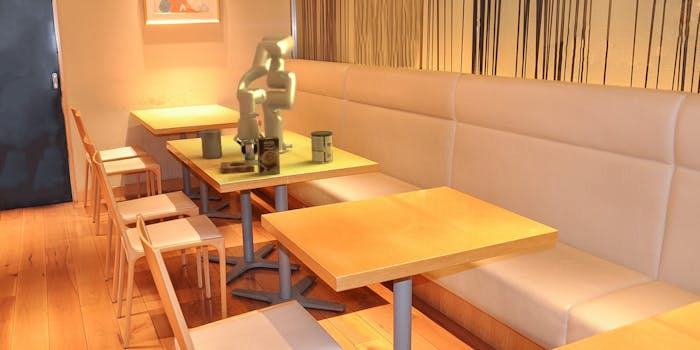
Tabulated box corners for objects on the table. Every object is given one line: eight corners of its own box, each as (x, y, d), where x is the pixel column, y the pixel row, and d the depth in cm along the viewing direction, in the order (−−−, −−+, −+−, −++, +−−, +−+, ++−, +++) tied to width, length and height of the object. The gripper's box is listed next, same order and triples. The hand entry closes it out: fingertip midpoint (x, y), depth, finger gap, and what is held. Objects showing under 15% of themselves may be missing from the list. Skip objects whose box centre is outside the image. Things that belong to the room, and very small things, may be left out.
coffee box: (259, 175, 280) (258, 139, 276) (258, 172, 286) (256, 137, 282) (280, 174, 282) (279, 138, 278) (278, 171, 288) (276, 135, 285)
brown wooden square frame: (251, 165, 300) (251, 160, 300) (254, 171, 287) (254, 166, 287) (221, 167, 297) (220, 162, 297) (223, 173, 284) (222, 168, 283)
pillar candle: (212, 154, 328) (209, 125, 324) (226, 156, 323) (224, 127, 319) (198, 158, 320) (196, 128, 316) (213, 160, 315) (210, 130, 311)
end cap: (255, 158, 309) (254, 139, 307) (256, 160, 304) (255, 141, 302) (243, 158, 308) (242, 140, 306) (244, 161, 302) (243, 142, 300)
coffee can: (315, 158, 314) (314, 130, 311) (335, 159, 311) (335, 131, 308) (308, 163, 304) (307, 133, 301) (329, 164, 301) (328, 134, 298)
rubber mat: (259, 160, 312) (259, 159, 312) (261, 164, 303) (261, 163, 303) (238, 161, 310) (238, 160, 310) (240, 165, 300) (240, 164, 300)
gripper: (264, 114, 307) (266, 151, 311) (229, 115, 303) (231, 153, 307) (266, 116, 300) (268, 154, 304) (230, 118, 295) (232, 156, 300)
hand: (249, 153), depth 305 cm, fingers closed on end cap, 5 cm apart
